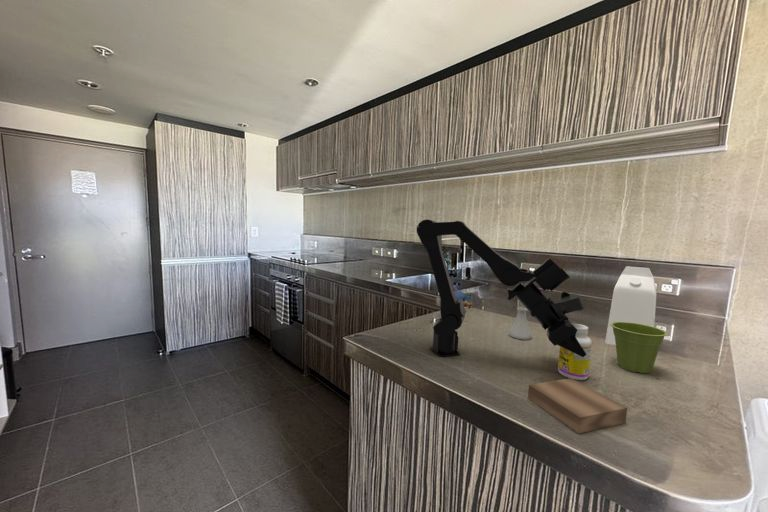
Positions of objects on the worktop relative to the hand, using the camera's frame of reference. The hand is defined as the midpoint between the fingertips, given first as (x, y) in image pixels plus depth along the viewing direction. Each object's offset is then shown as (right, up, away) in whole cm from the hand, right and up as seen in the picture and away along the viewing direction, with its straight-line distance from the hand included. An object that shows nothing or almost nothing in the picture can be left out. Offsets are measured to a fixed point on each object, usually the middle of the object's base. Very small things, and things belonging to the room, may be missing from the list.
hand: (581, 350), depth 77 cm
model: (-12, 0, +73) cm, 74 cm away
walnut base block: (-11, -7, -15) cm, 20 cm away
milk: (+33, -6, +26) cm, 43 cm away
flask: (-2, -4, +29) cm, 30 cm away
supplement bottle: (-2, -7, +1) cm, 7 cm away
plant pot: (+19, -7, +7) cm, 21 cm away
